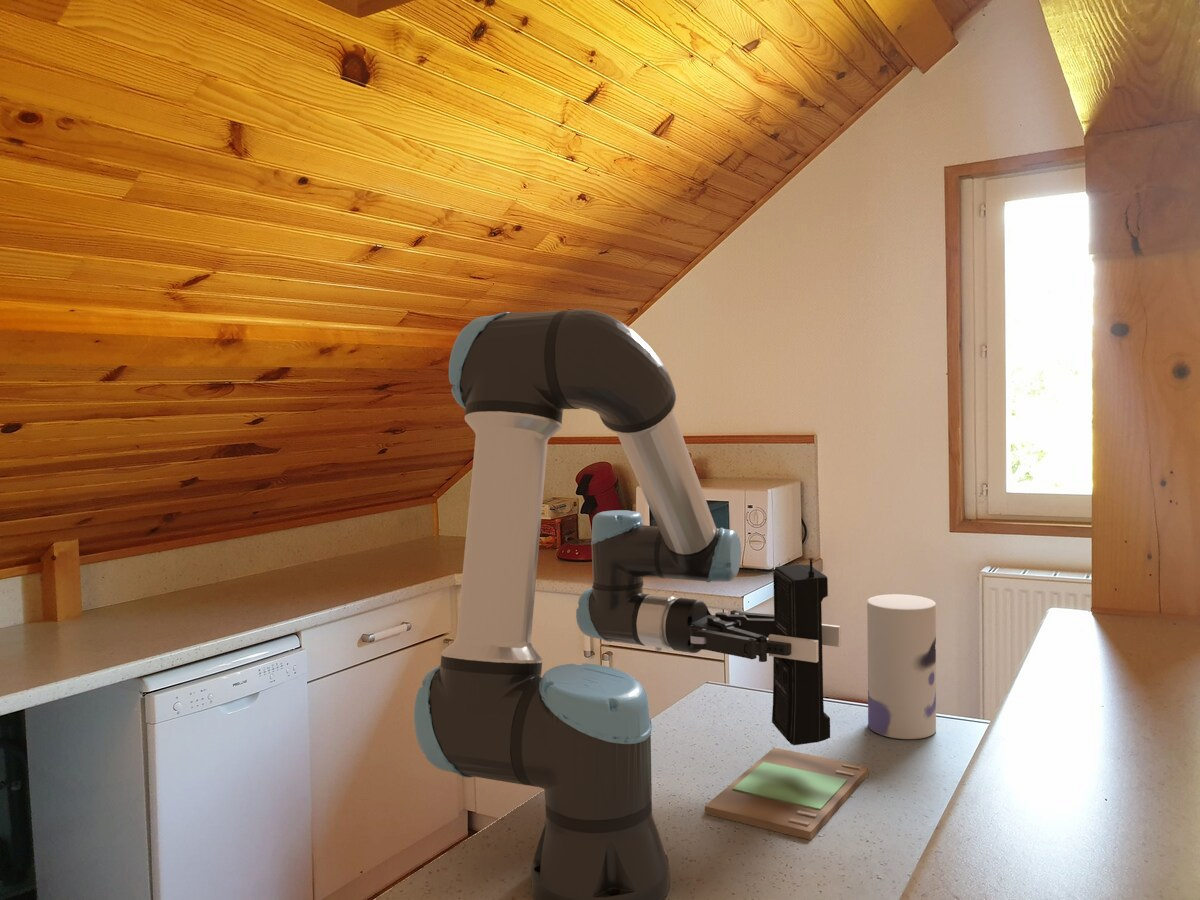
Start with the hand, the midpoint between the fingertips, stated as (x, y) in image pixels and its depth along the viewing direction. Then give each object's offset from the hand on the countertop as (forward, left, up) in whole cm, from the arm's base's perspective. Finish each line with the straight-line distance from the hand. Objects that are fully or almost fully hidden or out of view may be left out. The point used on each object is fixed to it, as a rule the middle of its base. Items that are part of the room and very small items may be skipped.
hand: (828, 643), depth 127 cm
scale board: (-4, +4, -20) cm, 20 cm away
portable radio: (+1, +5, -13) cm, 14 cm away
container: (+26, -2, -20) cm, 33 cm away
